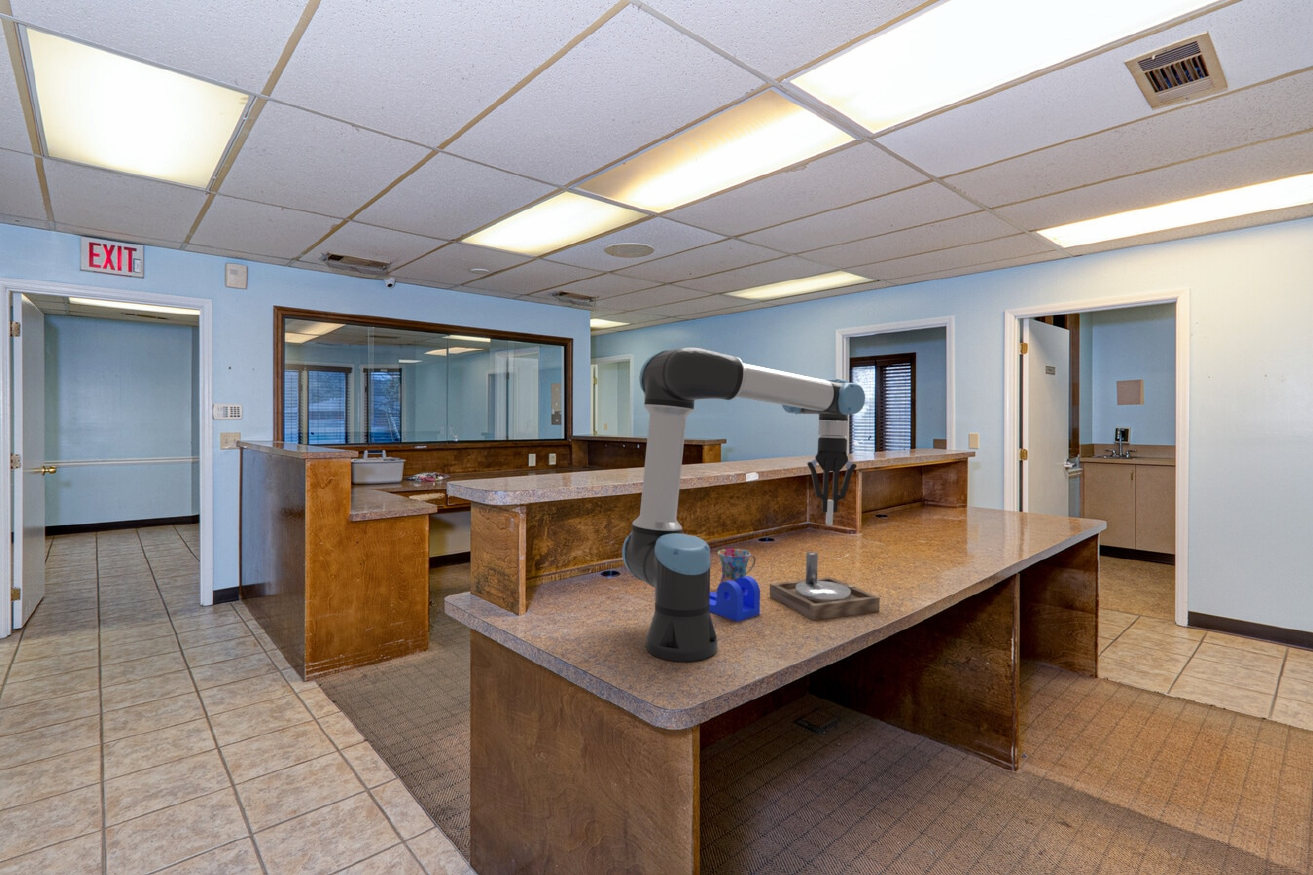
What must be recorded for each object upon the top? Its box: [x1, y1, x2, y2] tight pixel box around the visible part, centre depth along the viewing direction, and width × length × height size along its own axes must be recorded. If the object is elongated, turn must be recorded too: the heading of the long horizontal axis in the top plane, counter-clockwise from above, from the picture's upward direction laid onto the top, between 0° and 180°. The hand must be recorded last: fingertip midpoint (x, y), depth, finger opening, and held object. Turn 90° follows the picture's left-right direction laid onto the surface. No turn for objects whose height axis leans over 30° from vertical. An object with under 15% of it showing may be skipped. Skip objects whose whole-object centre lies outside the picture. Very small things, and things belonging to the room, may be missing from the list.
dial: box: [796, 551, 851, 603], centre depth 160 cm, size 14×14×10 cm
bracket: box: [709, 575, 761, 622], centre depth 156 cm, size 18×8×9 cm, turn 40°
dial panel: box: [769, 576, 881, 621], centre depth 160 cm, size 20×20×4 cm
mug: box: [717, 548, 757, 584], centre depth 173 cm, size 12×9×11 cm
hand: (829, 524), depth 164 cm, fingers closed
